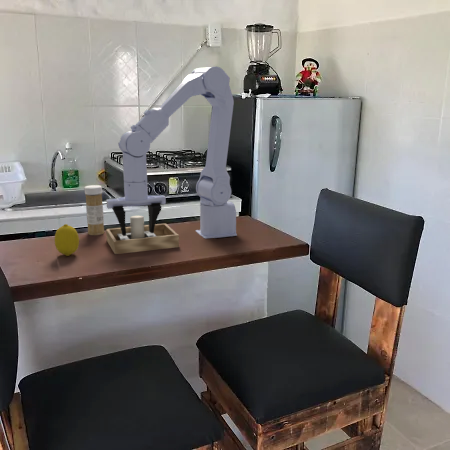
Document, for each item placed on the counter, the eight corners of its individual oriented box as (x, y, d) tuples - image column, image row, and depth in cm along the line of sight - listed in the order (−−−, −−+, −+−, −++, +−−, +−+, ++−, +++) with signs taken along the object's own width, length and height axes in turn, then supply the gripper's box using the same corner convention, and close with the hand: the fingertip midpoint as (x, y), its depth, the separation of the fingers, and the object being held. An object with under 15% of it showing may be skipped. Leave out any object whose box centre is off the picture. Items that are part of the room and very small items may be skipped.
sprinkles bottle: (100, 231, 142) (97, 184, 138) (107, 234, 139) (104, 186, 135) (84, 233, 139) (81, 185, 136) (92, 237, 136) (88, 188, 132)
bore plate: (151, 237, 135) (151, 230, 134) (160, 247, 127) (159, 239, 126) (117, 241, 131) (117, 233, 131) (124, 251, 123) (123, 243, 123)
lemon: (54, 254, 122) (52, 222, 120) (78, 251, 124) (76, 220, 122) (57, 261, 117) (54, 228, 115) (81, 258, 119) (79, 225, 117)
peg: (143, 241, 131) (142, 215, 129) (145, 245, 128) (144, 218, 126) (130, 242, 130) (129, 216, 128) (132, 246, 127) (130, 219, 125)
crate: (166, 235, 138) (165, 223, 137) (179, 248, 127) (178, 234, 126) (106, 242, 132) (106, 229, 131) (115, 255, 121) (114, 241, 120)
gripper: (159, 176, 131) (161, 226, 134) (103, 179, 126) (106, 232, 129) (167, 180, 125) (168, 233, 128) (108, 184, 119) (111, 239, 123)
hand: (137, 233), depth 128 cm, fingers open, 6 cm apart
